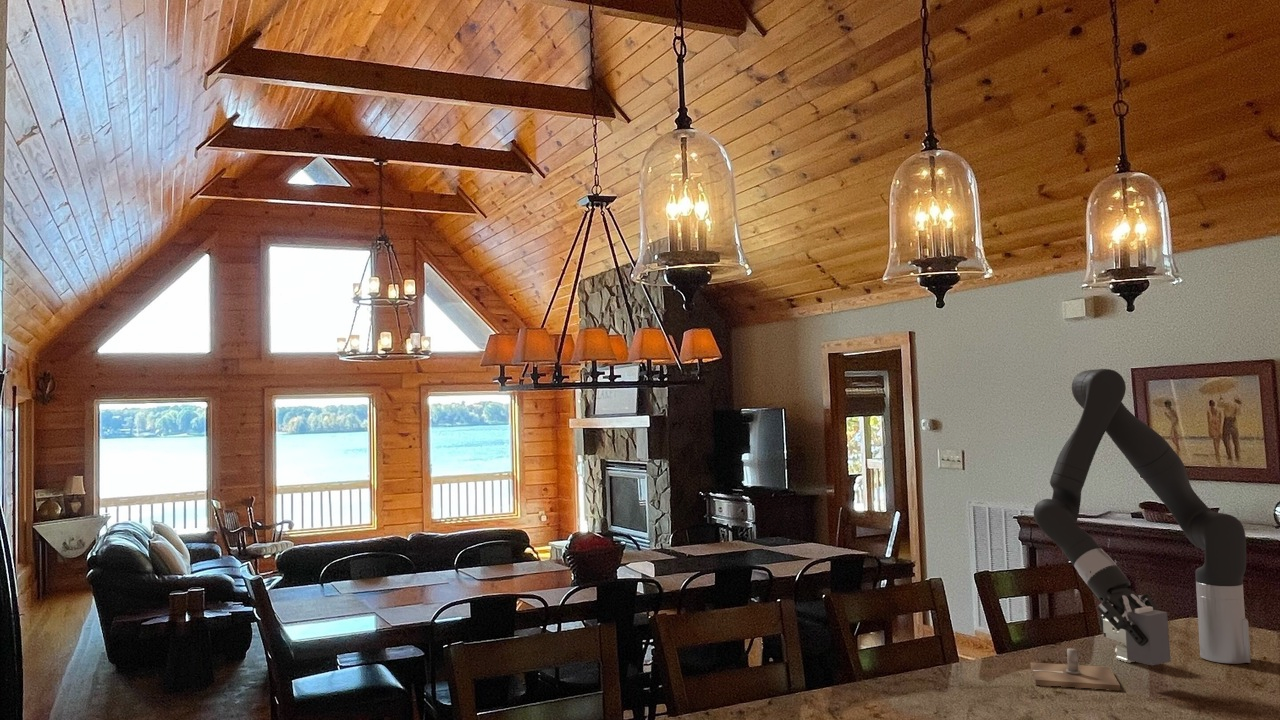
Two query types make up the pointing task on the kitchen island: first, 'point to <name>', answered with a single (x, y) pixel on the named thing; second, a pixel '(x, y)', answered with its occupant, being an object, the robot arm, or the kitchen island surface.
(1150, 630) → the grey rectangular block
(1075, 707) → the kitchen island surface
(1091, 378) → the robot arm
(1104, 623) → the pneumatic valve
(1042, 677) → the panel
